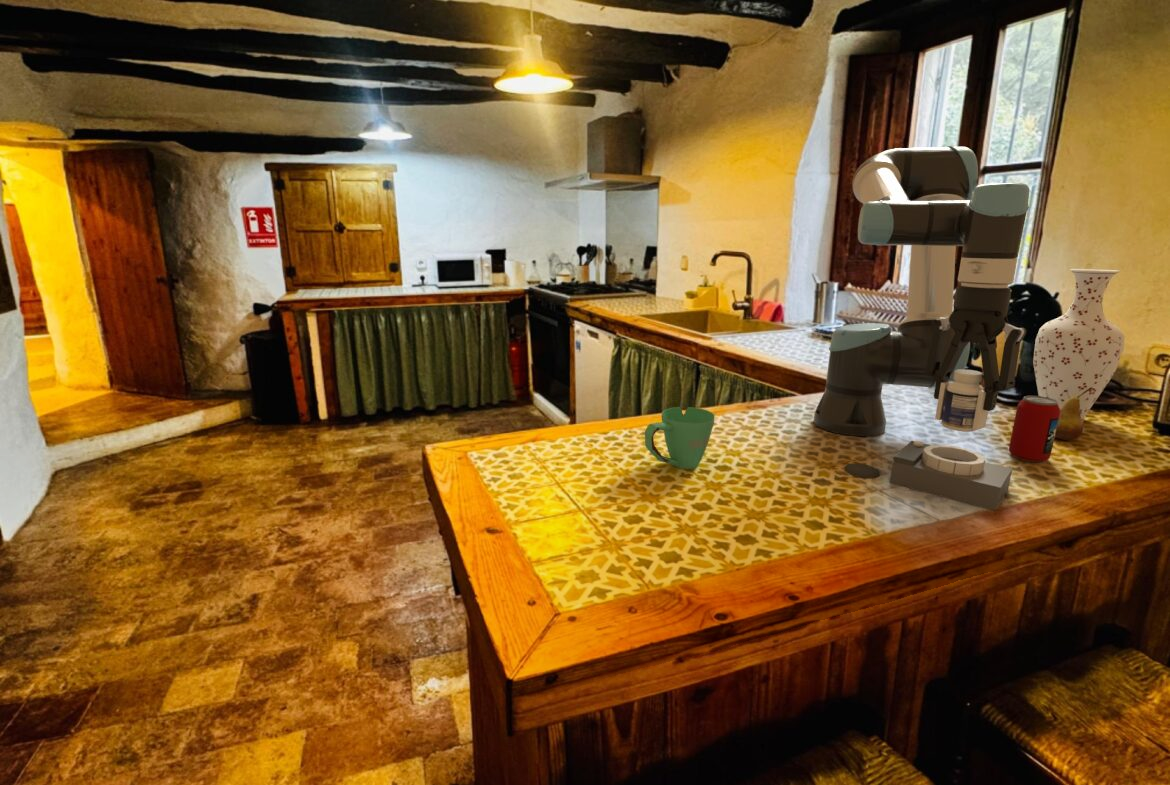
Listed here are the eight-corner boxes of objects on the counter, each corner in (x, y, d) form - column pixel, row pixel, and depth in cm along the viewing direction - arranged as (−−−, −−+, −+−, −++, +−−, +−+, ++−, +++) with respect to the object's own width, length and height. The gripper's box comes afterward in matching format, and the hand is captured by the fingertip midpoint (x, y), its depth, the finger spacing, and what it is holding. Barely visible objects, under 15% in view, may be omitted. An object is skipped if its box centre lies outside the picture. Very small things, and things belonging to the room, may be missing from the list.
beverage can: (1056, 465, 115) (1070, 405, 112) (1017, 462, 117) (1029, 403, 113) (1038, 452, 122) (1050, 395, 118) (1001, 450, 123) (1012, 393, 120)
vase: (1005, 411, 149) (1034, 268, 140) (1046, 405, 155) (1076, 267, 146) (1078, 431, 135) (1115, 273, 125) (1120, 423, 141) (1158, 271, 131)
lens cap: (837, 471, 112) (837, 467, 112) (856, 465, 116) (856, 461, 115) (867, 482, 108) (867, 478, 107) (886, 475, 111) (886, 471, 111)
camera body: (889, 482, 107) (894, 451, 105) (907, 465, 115) (912, 435, 113) (995, 510, 96) (1003, 475, 95) (1008, 489, 104) (1014, 457, 103)
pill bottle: (943, 420, 106) (952, 366, 104) (979, 426, 103) (989, 371, 100) (937, 428, 102) (947, 372, 99) (974, 434, 99) (985, 377, 96)
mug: (686, 451, 121) (689, 404, 119) (722, 467, 113) (726, 416, 111) (629, 466, 113) (630, 416, 111) (663, 484, 106) (665, 430, 103)
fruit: (1060, 433, 133) (1071, 381, 130) (1086, 442, 128) (1100, 388, 125) (1040, 435, 132) (1052, 382, 129) (1066, 444, 126) (1079, 389, 123)
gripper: (914, 282, 102) (895, 412, 108) (1039, 291, 87) (1009, 442, 93) (938, 280, 106) (918, 406, 112) (1062, 288, 91) (1031, 434, 97)
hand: (959, 422), depth 102 cm, fingers closed on pill bottle, 5 cm apart
